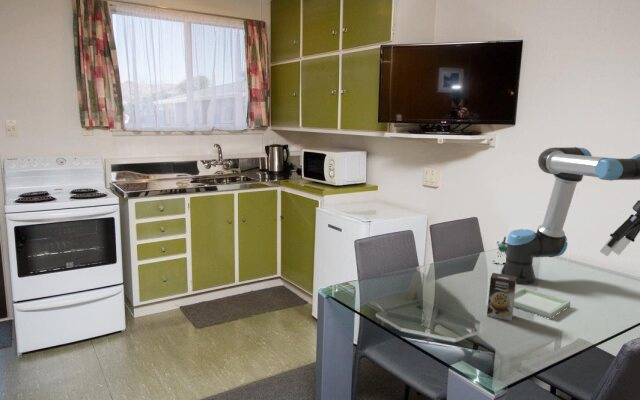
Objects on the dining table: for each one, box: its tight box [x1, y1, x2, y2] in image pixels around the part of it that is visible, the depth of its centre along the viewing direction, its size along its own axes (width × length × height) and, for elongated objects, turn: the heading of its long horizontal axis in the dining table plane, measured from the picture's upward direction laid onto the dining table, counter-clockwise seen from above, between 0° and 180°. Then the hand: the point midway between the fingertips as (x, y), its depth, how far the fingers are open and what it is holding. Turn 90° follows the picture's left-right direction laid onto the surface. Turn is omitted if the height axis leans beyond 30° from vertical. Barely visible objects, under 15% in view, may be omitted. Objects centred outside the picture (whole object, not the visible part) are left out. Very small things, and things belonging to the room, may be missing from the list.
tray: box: [513, 287, 571, 320], centre depth 190 cm, size 20×18×2 cm
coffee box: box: [486, 272, 517, 322], centre depth 178 cm, size 9×6×16 cm
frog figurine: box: [496, 236, 507, 257], centre depth 245 cm, size 10×18×15 cm, turn 127°
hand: (609, 253), depth 167 cm, fingers open, 13 cm apart
